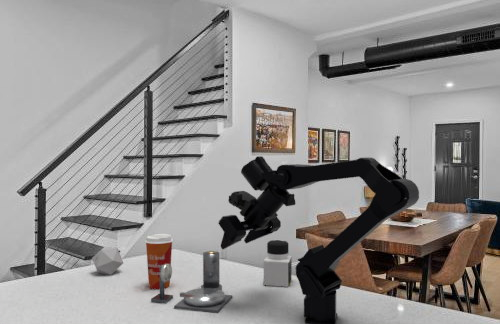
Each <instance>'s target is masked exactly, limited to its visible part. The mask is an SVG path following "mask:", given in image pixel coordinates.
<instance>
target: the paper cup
mask: <svg viewBox="0 0 500 324" xmlns="http://www.w3.org/2000/svg"><path fill="white" fill-rule="evenodd" d="M145 238H146V239H145V240H144V243H145V246H146V248H145V249H146V260H147V261H146V262H147V263H146V264H147V277H148V287H149V289H150V290H160V265H164V264H170V265H171V266H172V252H173V251H172V247H173V242H174V239H173V237H172V235H171V234H169V233H168V234H167V233H158V234H157V233H156V234H154V233H153V234H150V235H148V236H146V237H145ZM170 283H171V279H170V280H169V281H168V282H164V285H165V289H167V288H169V287H170V285H171V284H170Z"/></svg>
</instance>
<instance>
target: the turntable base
mask: <svg viewBox="0 0 500 324" xmlns="http://www.w3.org/2000/svg"><path fill="white" fill-rule="evenodd" d="M233 297H234V296H233V294H225V300H224V301H223V302H222V303H220V304H217V305H212V306H192V305H189V304H186V303H185V302H184V298H182V299H181V300H180V301H179V302H177V303H176V304H174V305H173V309H176V310H185V311H194V312H205V313H215V314H218V313H219V312H221V310H222V309H223V308H224V307H225V306H226V305H227V304H228V303H229V302H230V301H231V300H232V299H233Z"/></svg>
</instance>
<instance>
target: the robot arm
mask: <svg viewBox="0 0 500 324" xmlns="http://www.w3.org/2000/svg"><path fill="white" fill-rule="evenodd" d="M240 174H241V175H242V177H244V179H245V180H246V181H247V183H248V184H249V185H250V187H251V188H252V189H253V190H254V191H260V192H261V193H260V195H259V196H258V197H257V198H256V197H255V196H254V195H252V194H250V192H247V191H245V190H239V191H238V190H237V191H233V192H231V194H230V195H229V196H228V204H230V205H232V206H233V207H236V208H237V209H239V210H240V211H239V214H240V216H241V217H243V221H241V220H240V218H239V217H238V216H237V215H236V214H229V215H223V216H222V217H221V218H220V219H219V220H218V223H217V224H218V225H219V226H220V229H221V230H222V231H223V236H222V239H221V243H220V248H221V249H222V250H225V249H227V248H229V247H231V246H233V245H235V244H237V243H240V242H241V241H242V240H243V238H244V240H243V241H244V243H245V244H249V243H251V242H253V241H256V240H257V239H261V238H263V237H265V236H268V235H272V233H274V232H275V233H276V232H277V231H278V230H280V228H281V226H282V225H281V220H280V219H279V218H278V212H279V210H280V209H281V208H282V207H283V206H286V207H291V206H295V205H296V199H295V195H296V194H294V193H290V192H289V191H290V190H296V189H302V188H304V187H309V186H311V185H313V184H316V183H319V182H325V181H332V180H333V181H335V180H342V179H349V178H350V179H353V178H360V179H361V180H363V182H364V184H366V186H367V187H368V189H370V190H371V192H373V193H374V196H373V197H372V199H371V201H370V203H369V205H368V207H367V208H366V209H365V210H364V211H363V212H362V213H361V214H360V215H359V216H358V217H356V219H354V220H353V221H352V222H351V223H350V224H349V225H348V226H347V227H345V228H344V229H343V230H342V231H341V232H340V233H339V234H338V235H336V236H335V238H333V239H332V240H331V241H330V242H329V243H328V244H327V245H326V246H324V244H321V245H318V246H314V247H312V248H309V249H308V250H307V251H306V252H305V254H304V255H303V256H301V257H300V258H297V262H298V263H297V264H296V266H295V276H296V278H297V280H298V282H299V287H300V289H301V293H302V295H304V298H303V317H304V318H305V320H304V323H306V324H337V320H338V319H337V318H338V313H337V290H339V289H340V288H341V286H342V283H343V280H342V279H341V278H340V276H339V275H338V274H337V273H336V270H337V268H338V267H339V263H340V261H341V260H342V259H343V258H344V257H345V256H347V255H348V254H349V253H350V252H351V251H352V250H353V249H355V247H357V246H358V245H359V244H361V242H362V241H364V240H365V239H366V238H367V237H368V236H369V235H370V234H372V233H373V232H374V231H375V230H377V228H379V227H380V226H381V225H382V224H383V223H384V222H385V221H387V220H389V219H391V218H392V217H395V216H396V215H398V214H400V213H402V212H404V211H406V210H407V209H409V208H411V207H412V206H414V205H416V204H417V202H418V201H419V198H420V190H419V187H418V186H417V185H416V183H415V182H413V180H411V179H408V178H402V177H401V176H400V175H399V174H397V173H396V172H394V171H392V170H391V169H389V168H388V167H386V166H384V165H382V164H381V163H380V162H379V161H378V160H377V159H376V158H374V157H358V158H357V159H352V160H345V161H343V160H342V161H338V162H331V163H324V164H322V163H321V164H316V165H311V164H298V163H297V164H280V165H279V166H278V167H277V168H276V169H275V170H273V169H272V167H271V166H270V164H269V163H267V161H266V159H265V157H263V156H262V155H261V156H256V157H255V158H254V159H252V160H250V161H248V162H247V163H246V164H244V165H243V167H242V168H241V170H240ZM288 190H289V191H288ZM247 232H248V233H247Z"/></svg>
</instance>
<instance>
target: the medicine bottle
mask: <svg viewBox="0 0 500 324" xmlns="http://www.w3.org/2000/svg"><path fill="white" fill-rule="evenodd" d="M266 248H267V249H266V251H267V252H266V254H267V256H266V257H265V258H264V259H263V285H264V286H265V285H266V286H267V287H268V286H269V287H270V286H271V287H281V286H282V287H284V288H288V287H290V284H291V281H292V278H293V277H292V273H293V271H292V270H293V268H292V259H293V258H292V257H293V256H291V255H289V242H288V241H287V240H283V239H273V240H269V241H268V242H267V245H266ZM282 287H281V288H282Z"/></svg>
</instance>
